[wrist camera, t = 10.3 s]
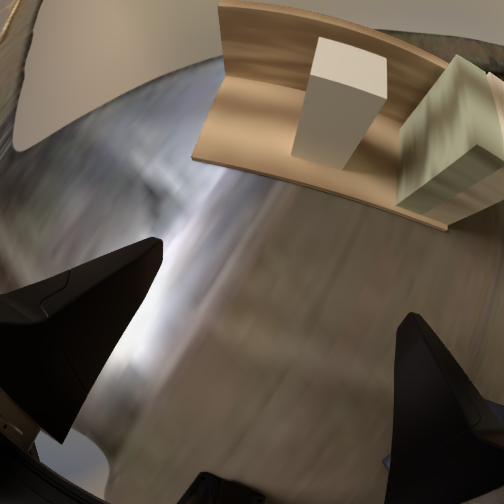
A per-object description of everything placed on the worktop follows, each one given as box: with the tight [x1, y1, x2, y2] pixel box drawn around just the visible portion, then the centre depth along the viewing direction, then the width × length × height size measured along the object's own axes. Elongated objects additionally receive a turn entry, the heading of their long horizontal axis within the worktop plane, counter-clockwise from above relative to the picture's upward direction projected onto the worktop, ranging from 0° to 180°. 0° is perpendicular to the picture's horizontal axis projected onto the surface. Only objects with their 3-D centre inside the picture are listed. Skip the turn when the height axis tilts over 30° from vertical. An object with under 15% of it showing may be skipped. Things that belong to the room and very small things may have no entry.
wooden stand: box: [191, 0, 504, 232], centre depth 18 cm, size 11×24×13 cm, turn 75°
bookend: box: [290, 37, 387, 170], centre depth 19 cm, size 4×4×10 cm
